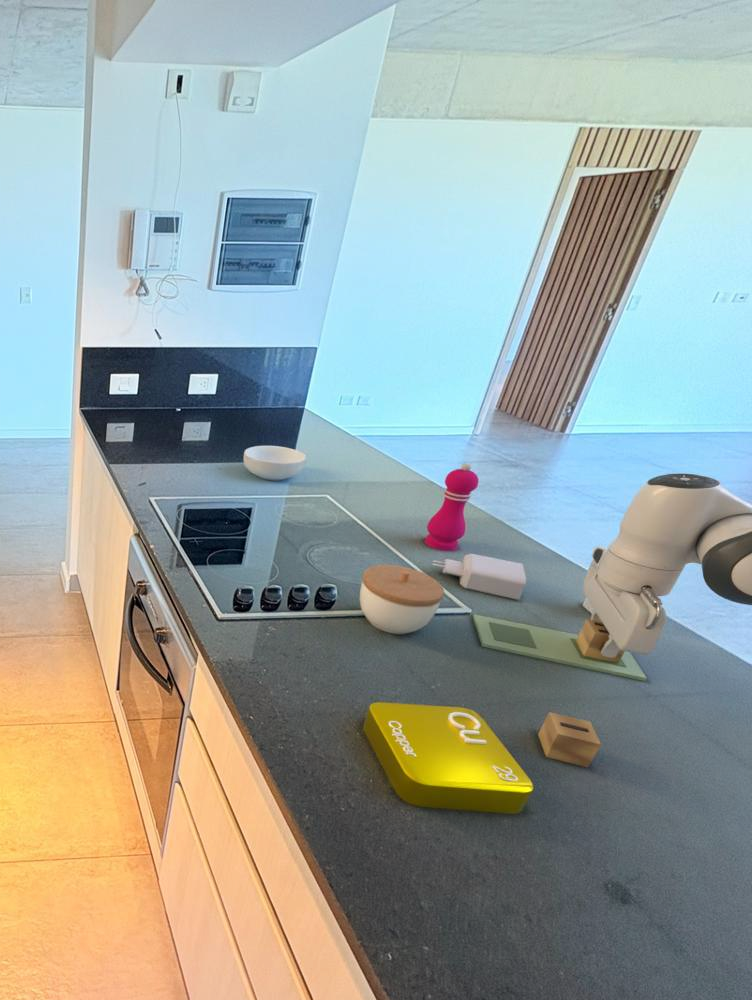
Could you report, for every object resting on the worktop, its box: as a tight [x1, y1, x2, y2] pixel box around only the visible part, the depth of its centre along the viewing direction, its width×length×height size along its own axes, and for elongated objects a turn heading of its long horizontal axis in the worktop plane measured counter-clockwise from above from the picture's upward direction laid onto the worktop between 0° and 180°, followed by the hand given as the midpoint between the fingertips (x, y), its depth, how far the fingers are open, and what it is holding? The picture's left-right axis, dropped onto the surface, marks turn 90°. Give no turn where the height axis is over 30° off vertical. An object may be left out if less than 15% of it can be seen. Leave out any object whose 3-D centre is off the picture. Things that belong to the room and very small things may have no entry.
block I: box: [537, 711, 602, 769], centre depth 84 cm, size 5×5×5 cm
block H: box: [576, 618, 625, 663], centre depth 102 cm, size 5×5×5 cm
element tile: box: [362, 701, 534, 815], centre depth 82 cm, size 15×15×5 cm
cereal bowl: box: [243, 445, 307, 481], centre depth 179 cm, size 17×17×7 cm
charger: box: [432, 553, 527, 601], centre depth 125 cm, size 5×9×15 cm
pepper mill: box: [424, 462, 479, 552], centre depth 136 cm, size 7×7×20 cm
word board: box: [472, 613, 647, 682], centre depth 106 cm, size 22×10×1 cm, turn 65°
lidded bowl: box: [359, 564, 445, 635], centre depth 110 cm, size 13×13×11 cm
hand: (600, 644), depth 103 cm, fingers closed on block H, 5 cm apart
